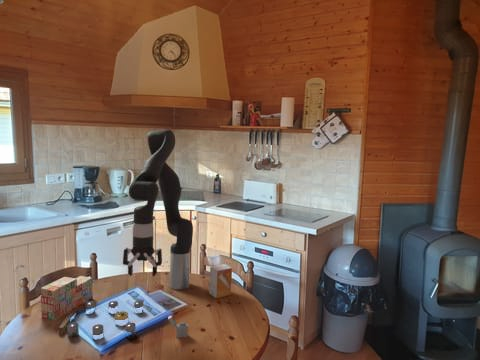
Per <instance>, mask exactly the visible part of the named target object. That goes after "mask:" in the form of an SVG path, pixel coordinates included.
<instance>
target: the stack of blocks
mask: <svg viewBox="0 0 480 360" xmlns="http://www.w3.org/2000/svg"><path fill="white" fill-rule="evenodd" d="M91 299H93V278H92V277H90V276H89V277H88V276H84V275H79V276H78V277H75V278H73V277H68V276H63V277H61V278H59V279H57V280H54V281H53V282H51V283H48V284H47V285H46V284H45V285H44V286H42V287H41V288H40V303H41V304H40V305H41V318H43V319H47V320H51V321H56V320H57V319H60V318H62V317H63V316H65V315H66V314H69V313H70V311H71V310H72V309H73V308H78V307H80V306H81V305H82V304H85V303H86V302H88V301H91Z"/></svg>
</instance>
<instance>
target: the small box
mask: <svg viewBox="0 0 480 360" xmlns="http://www.w3.org/2000/svg"><path fill="white" fill-rule="evenodd" d="M232 272H233V268H232V267H231V266H229V265H228V264H226V263H222V264H217V265H212V266H210V268H209V289H208V290H209V291H208V292H209V295H210V296H212V297H214V298H215V299H218V298H222V297H227V296H230V295H232V293H231V291H232V275H233V273H232Z"/></svg>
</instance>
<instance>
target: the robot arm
mask: <svg viewBox="0 0 480 360" xmlns="http://www.w3.org/2000/svg"><path fill="white" fill-rule="evenodd" d="M146 137H147V144H148V149H149V152H150V156H149V157H148V159H147V160H146V161H145V162H144V165H143V166H142V169H141V172H140V173H139V174H138V175H137V176H136V177H135V178H134V179H133V180H132V181H131V183H130V185H129V186H128V187H129V188H128V194H129V197H130V198H131V199H132V200H135V201H146V204H144V205H138V206H136V207H134V209H133V227H132V248H128V247H125V248H124V250H123V254H122V264H123V266H127V273H128V275H129V277H132V276H133V271H134V263H135V262H136V260H137V261H138V262H140V261H143V262H147V261H148V262H149V264H151V266H152V277H155V276H156V275H157V273H158V267H159V266H161V265H162V263H163V255H162V254H163V252H162V251H163V250H162V248H159V249H155V248H154V210H155V204H156V201H157V199H158V195H159V191H160V194H161V197H162V203H163V207H164V212H165V219H166V220H165V221H166V228H167V232H168V233H169V234H170V235H171V236H173V237H176V243H172V244H171V245H170V249H169V250H170V257H169V260H170V261H169V262H170V263H169V264H170V265H169V288H170V289H172V290H177V291H181V290H182V291H183V290H186V289H189V288H190V279H191V278H190V274H191V272H190V271H191V263H190V262H191V248H192V245H193V238H194V236H193V235H194V226H193V223H192V221H191V220H189V219H188V218H183V217H182V216H181V213H180V209H179V203H180V199H181V196H182V186H181V182H180V177H179V175H178V174H177V173H176V171H174V170H173V168H172V167H171V166H170V165H169V164H168V163H167V160H168V159H169V157H170V156H171V154H172V152H173V150H174V149H175V146H176V135H175V133H174V132H173V131H172V130H171V129H160V130H152V131H149V132H148V133H147V136H146ZM157 182H158V184H157ZM158 185H159V186H158ZM130 253H131V254H132V256H133V257H132V258H131V259H130V261H129V260H128V258H129V255H130ZM154 254H155V256H157V260H156V259H155V257H154V256H153V255H154Z"/></svg>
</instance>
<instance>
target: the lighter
mask: <svg viewBox="0 0 480 360" xmlns="http://www.w3.org/2000/svg"><path fill="white" fill-rule="evenodd" d="M167 319H168V322H169V323H170V325H171V327H172V329H174V328H175V334H176V335H175V337H176V338H177V339H178V338H179V339H180V338H181V339H182V338H188V335H189V324H188V323H187V322H185V321H180V322H179V323H177V322H176V320H175V319H174V316H173V315H172V314H171V315H169V316H168V317H167Z"/></svg>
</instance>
